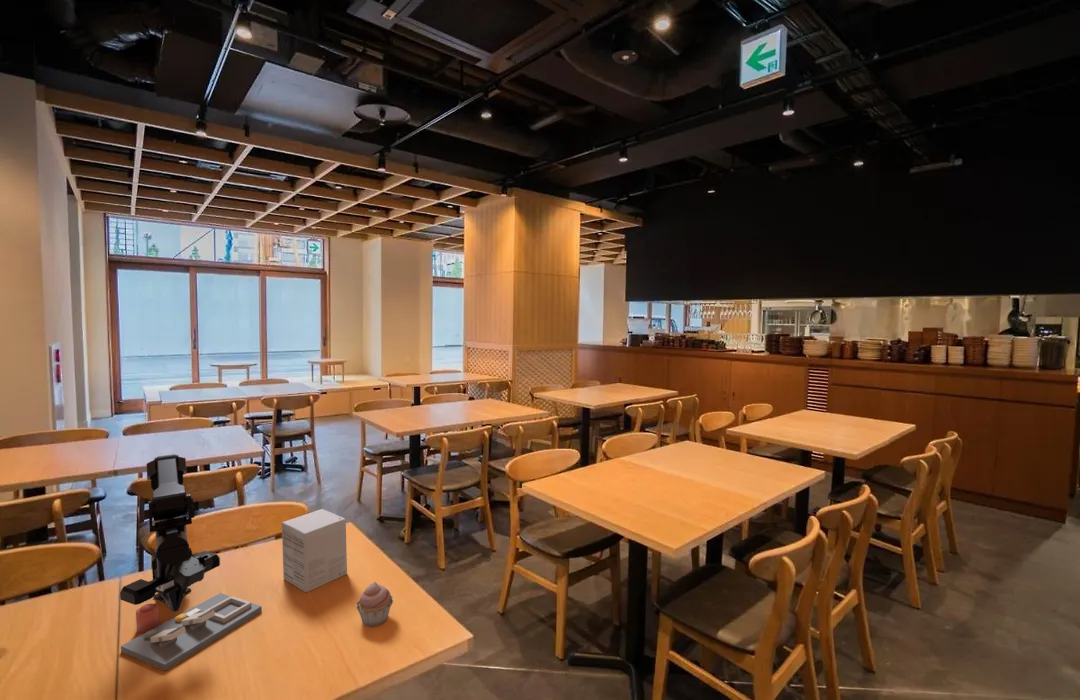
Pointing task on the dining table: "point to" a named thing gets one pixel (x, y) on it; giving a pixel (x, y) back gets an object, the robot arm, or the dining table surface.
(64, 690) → the dining table surface
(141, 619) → the cap
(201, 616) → the block
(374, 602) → the cupcake
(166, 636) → the breaker
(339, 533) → the supplement box
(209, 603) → the panel
